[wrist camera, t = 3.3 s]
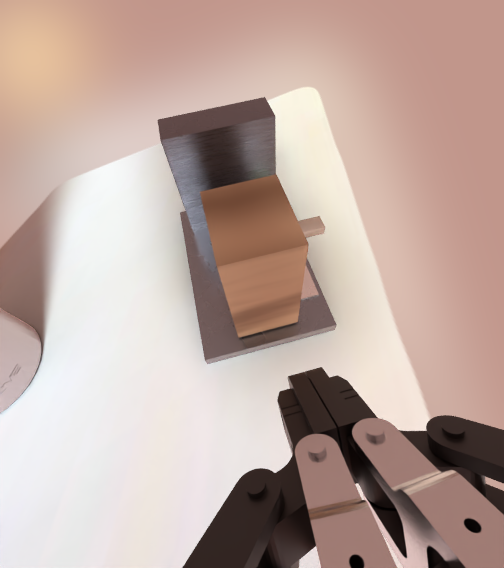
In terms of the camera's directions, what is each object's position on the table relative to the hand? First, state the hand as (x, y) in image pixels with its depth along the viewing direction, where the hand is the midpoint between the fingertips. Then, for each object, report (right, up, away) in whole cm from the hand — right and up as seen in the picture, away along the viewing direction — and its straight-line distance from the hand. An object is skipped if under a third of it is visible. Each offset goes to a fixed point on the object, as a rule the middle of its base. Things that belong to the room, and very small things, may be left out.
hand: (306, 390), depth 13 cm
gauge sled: (-1, +4, +13) cm, 14 cm away
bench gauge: (-3, +6, +16) cm, 18 cm away
